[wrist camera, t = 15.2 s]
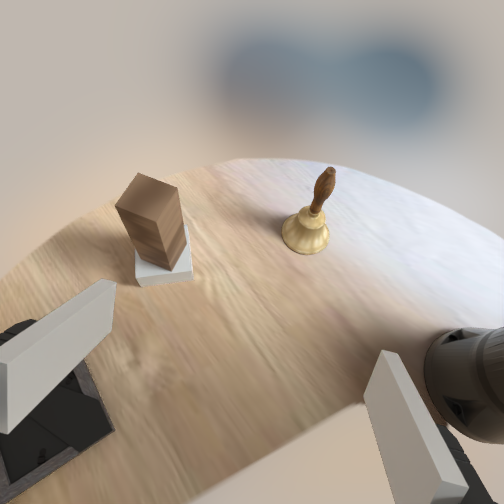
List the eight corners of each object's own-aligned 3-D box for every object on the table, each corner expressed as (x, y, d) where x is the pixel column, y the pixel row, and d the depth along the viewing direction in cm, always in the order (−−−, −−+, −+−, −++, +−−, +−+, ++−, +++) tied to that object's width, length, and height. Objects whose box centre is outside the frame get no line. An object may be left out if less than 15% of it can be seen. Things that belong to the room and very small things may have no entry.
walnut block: (187, 243, 51) (177, 187, 38) (171, 271, 49) (156, 221, 36) (157, 232, 51) (138, 172, 39) (140, 259, 49) (114, 205, 37)
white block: (189, 237, 56) (187, 224, 53) (194, 281, 53) (192, 270, 49) (140, 242, 55) (134, 230, 51) (141, 288, 51) (135, 278, 48)
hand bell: (271, 227, 58) (287, 163, 44) (308, 206, 60) (333, 139, 46) (302, 263, 55) (329, 208, 41) (338, 239, 58) (376, 179, 44)
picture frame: (116, 430, 43) (64, 314, 49) (112, 430, 41) (58, 310, 47) (7, 503, 39) (-35, 367, 45) (-4, 507, 37) (-46, 364, 43)
